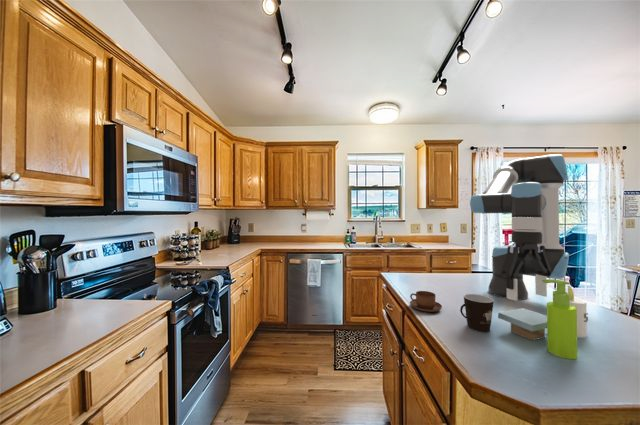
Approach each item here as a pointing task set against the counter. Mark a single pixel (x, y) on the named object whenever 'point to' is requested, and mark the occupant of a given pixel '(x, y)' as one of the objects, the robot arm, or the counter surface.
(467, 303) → the coffee mug
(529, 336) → the block
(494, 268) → the robot arm
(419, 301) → the cup and saucer
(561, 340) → the soap dispenser
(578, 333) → the white bottle
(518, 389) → the counter surface
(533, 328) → the lid
